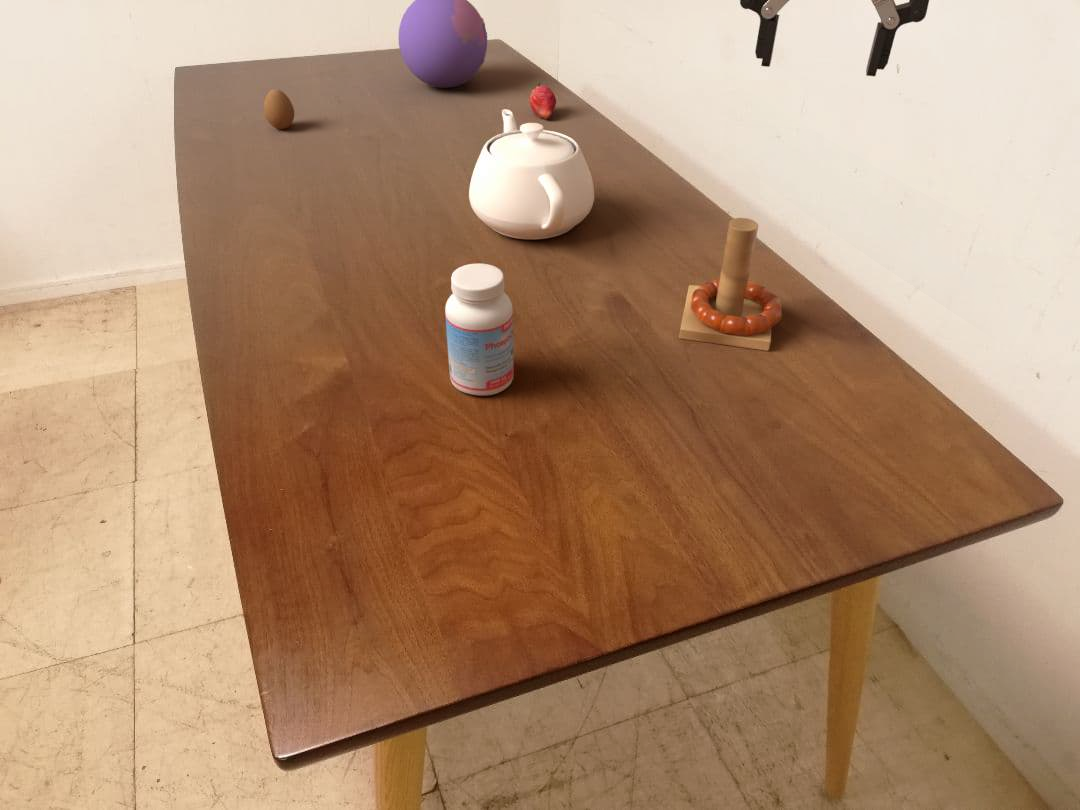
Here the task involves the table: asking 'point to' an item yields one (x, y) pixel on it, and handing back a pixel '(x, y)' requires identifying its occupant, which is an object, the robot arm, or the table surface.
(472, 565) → the table surface
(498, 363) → the pill bottle
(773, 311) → the ring
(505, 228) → the teapot
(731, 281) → the post
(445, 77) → the decorative ball
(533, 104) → the fruit
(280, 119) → the egg
